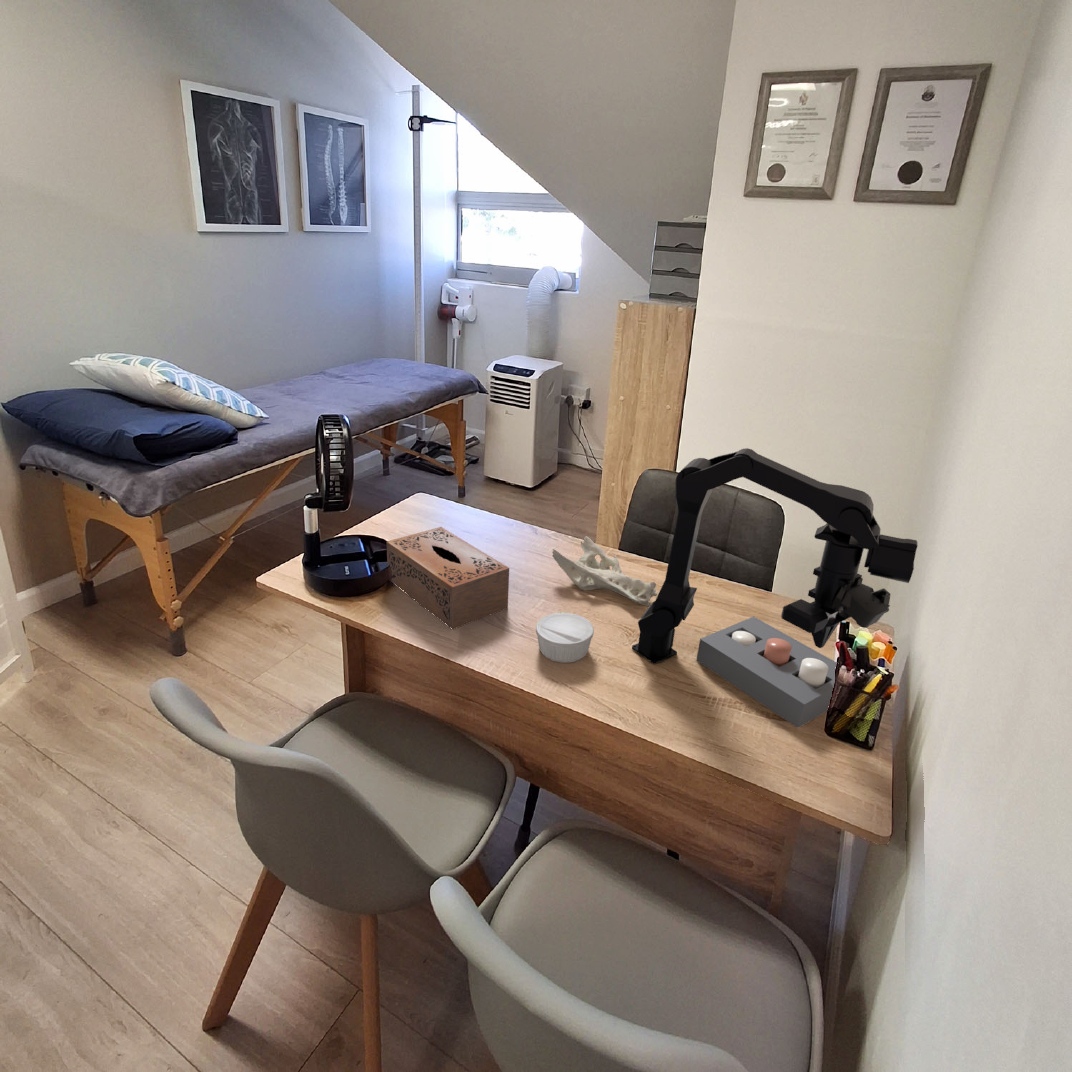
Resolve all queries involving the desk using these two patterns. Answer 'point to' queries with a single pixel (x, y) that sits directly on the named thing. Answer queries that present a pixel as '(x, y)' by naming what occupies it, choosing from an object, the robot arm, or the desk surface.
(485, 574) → the tissue box cover
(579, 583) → the skull
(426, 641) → the desk surface
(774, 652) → the knob middle
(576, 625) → the ramekin
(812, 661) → the knob
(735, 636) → the knob
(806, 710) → the housing
